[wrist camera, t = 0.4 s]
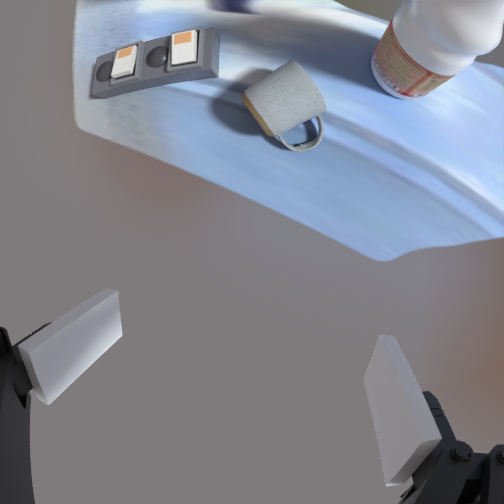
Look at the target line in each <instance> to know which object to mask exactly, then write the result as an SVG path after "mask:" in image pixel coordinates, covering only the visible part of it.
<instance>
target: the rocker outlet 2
mask: <svg viewBox="0 0 504 504" xmlns="http://www.w3.org/2000/svg"><path fill="white" fill-rule="evenodd" d="M195 62H197V32H196V31H195V30H191V31H186V32H181V33H176V34H172V65H174V66H177V65H182V64H188V63H195Z"/></svg>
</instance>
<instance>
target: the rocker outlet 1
mask: <svg viewBox="0 0 504 504" xmlns="http://www.w3.org/2000/svg"><path fill="white" fill-rule="evenodd" d="M137 52H138V47H137V46H136V45H134V46H131V47H128V48H124V49H121V50H118V52H117V55H116V59H115V62H114V66H113V69H112V73H111V76H112V77H113V78H117V77H121V76H124V75H128V74H131V73H133V68H134V64H135V60H136V56H137Z"/></svg>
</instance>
